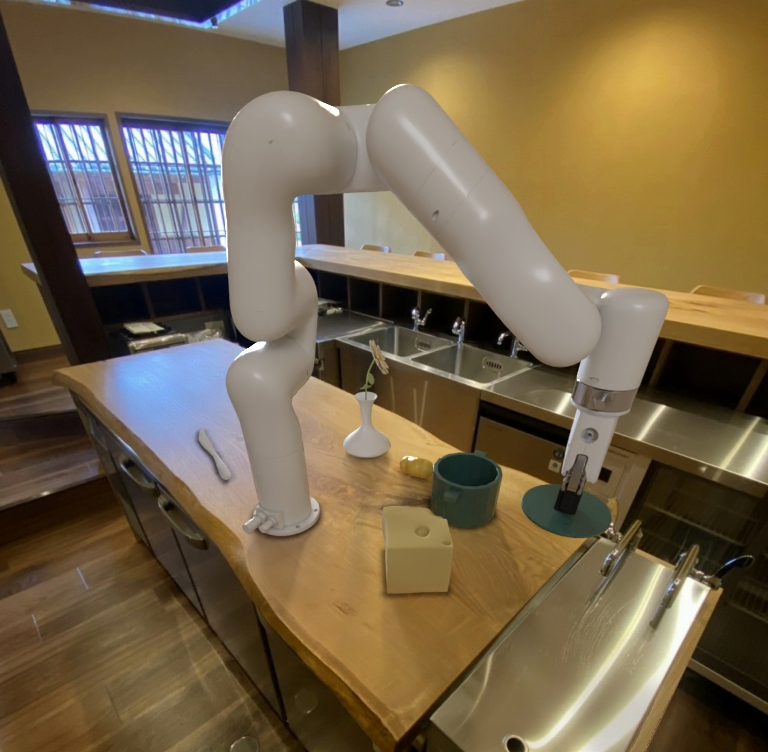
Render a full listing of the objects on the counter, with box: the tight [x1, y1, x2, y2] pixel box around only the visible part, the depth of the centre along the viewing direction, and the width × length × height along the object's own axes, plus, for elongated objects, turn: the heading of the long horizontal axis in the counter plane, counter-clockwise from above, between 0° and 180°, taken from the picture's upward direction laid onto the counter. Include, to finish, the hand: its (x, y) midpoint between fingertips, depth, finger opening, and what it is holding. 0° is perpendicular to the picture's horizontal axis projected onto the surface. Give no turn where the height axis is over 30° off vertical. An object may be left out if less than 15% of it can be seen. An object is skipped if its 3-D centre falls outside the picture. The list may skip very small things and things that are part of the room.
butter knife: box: [198, 428, 232, 481], centre depth 100 cm, size 1×27×3 cm
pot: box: [429, 450, 504, 529], centre depth 82 cm, size 13×18×9 cm
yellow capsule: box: [399, 455, 434, 480], centre depth 92 cm, size 8×4×4 cm, turn 62°
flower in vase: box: [342, 339, 392, 459], centre depth 95 cm, size 13×11×25 cm
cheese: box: [381, 505, 455, 595], centre depth 67 cm, size 10×11×10 cm
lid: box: [520, 478, 613, 539], centre depth 66 cm, size 14×14×6 cm
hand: (566, 504), depth 67 cm, fingers closed on lid, 3 cm apart
